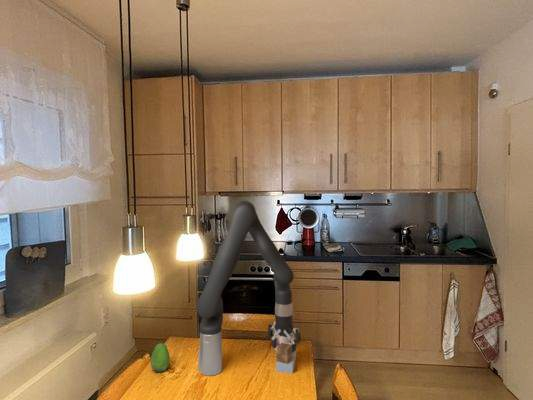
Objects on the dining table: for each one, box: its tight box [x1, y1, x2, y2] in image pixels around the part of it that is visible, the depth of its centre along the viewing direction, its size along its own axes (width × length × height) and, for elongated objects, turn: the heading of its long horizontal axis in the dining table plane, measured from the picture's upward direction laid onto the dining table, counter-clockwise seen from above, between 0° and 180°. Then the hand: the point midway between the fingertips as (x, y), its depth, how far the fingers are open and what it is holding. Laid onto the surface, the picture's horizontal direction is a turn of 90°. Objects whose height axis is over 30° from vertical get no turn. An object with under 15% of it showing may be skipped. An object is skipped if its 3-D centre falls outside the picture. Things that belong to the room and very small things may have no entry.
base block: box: [275, 356, 296, 374], centre depth 150 cm, size 7×7×4 cm
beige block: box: [285, 342, 297, 360], centre depth 158 cm, size 5×5×6 cm
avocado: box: [150, 342, 171, 373], centre depth 149 cm, size 8×8×12 cm
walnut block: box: [275, 343, 292, 364], centre depth 150 cm, size 5×5×6 cm
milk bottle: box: [273, 321, 291, 351], centre depth 167 cm, size 8×8×20 cm
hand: (284, 349), depth 150 cm, fingers open, 8 cm apart
